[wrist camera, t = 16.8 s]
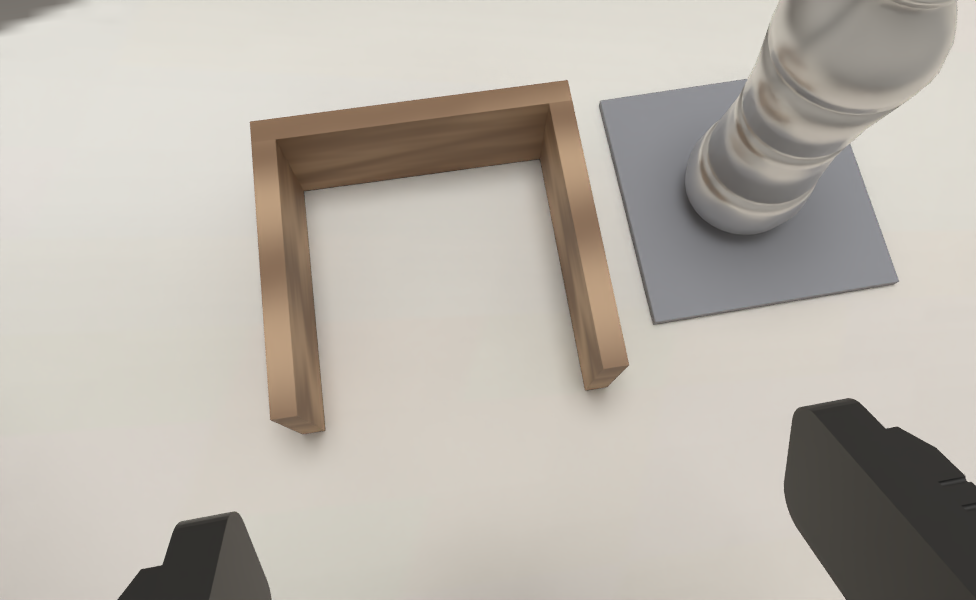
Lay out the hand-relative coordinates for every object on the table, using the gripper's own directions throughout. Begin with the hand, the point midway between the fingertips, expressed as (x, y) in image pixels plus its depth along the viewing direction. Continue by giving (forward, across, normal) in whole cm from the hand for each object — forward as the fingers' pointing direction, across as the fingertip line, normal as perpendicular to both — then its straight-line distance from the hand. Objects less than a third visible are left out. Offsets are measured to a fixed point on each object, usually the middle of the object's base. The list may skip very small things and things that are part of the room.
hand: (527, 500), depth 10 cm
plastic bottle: (+29, -17, +9) cm, 35 cm away
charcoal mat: (+30, -18, +9) cm, 36 cm away
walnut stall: (+28, 0, +11) cm, 30 cm away
